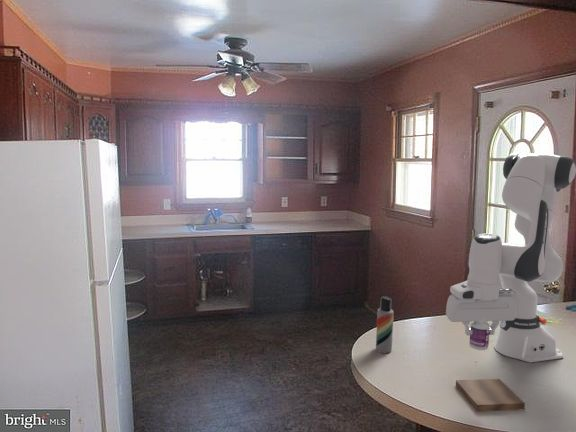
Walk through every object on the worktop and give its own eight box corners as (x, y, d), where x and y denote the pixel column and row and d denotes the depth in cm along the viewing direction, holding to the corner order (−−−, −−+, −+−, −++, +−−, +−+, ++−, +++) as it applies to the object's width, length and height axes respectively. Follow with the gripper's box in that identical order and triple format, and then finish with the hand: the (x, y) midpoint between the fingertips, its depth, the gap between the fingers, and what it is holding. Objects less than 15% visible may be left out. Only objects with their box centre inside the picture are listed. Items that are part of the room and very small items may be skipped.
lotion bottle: (374, 346, 176) (376, 294, 173) (389, 346, 177) (391, 294, 174) (378, 353, 171) (380, 300, 168) (393, 353, 171) (396, 299, 168)
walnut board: (498, 384, 150) (499, 378, 150) (524, 409, 136) (524, 403, 136) (455, 386, 149) (456, 380, 148) (477, 411, 135) (477, 405, 135)
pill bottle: (490, 351, 139) (492, 320, 138) (470, 350, 140) (472, 318, 139) (486, 344, 144) (488, 313, 143) (467, 342, 146) (469, 312, 144)
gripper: (511, 285, 143) (507, 329, 146) (445, 286, 142) (442, 330, 144) (523, 292, 137) (519, 337, 139) (453, 293, 136) (451, 339, 138)
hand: (479, 334), depth 142 cm, fingers closed on pill bottle, 5 cm apart
